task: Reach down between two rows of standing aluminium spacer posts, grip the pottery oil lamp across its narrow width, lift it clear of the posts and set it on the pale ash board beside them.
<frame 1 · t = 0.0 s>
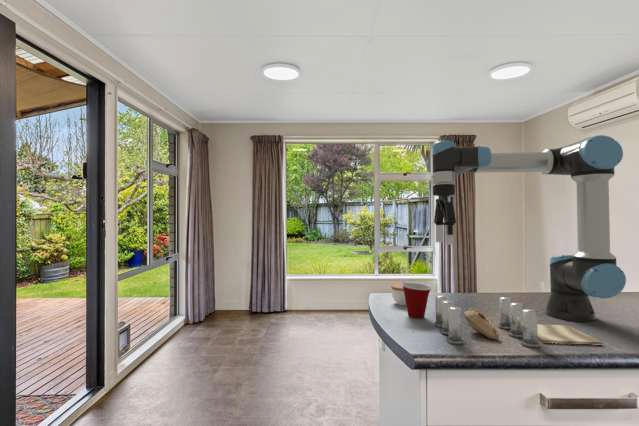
hand: (444, 243, 120), 28 cm above the counter, tool pointing down, fingers open, 13 cm apart
spacer posts: (482, 334, 106), on the counter
lidded jar: (404, 304, 146), on the counter
pottery oil lamp: (482, 335, 106), on the counter
plastic cup: (416, 317, 126), on the counter
ash board: (556, 335, 105), on the counter
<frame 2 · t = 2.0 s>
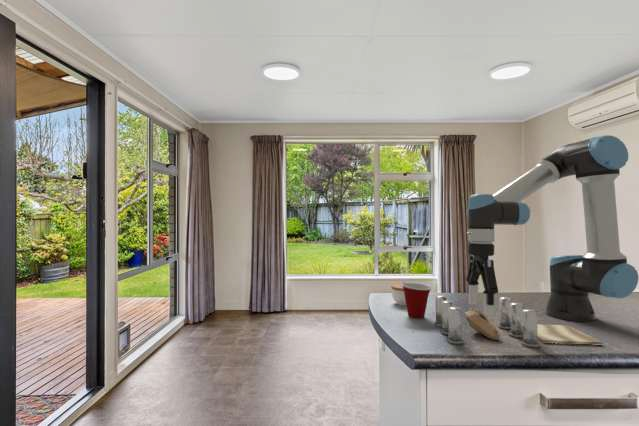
hand: (480, 309, 106), 8 cm above the counter, tool pointing down, fingers open, 13 cm apart
nothing on the counter moved.
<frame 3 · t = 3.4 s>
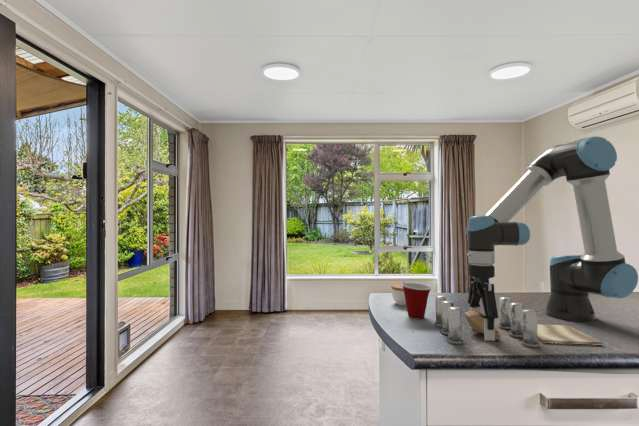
hand: (481, 333, 106), 0 cm above the counter, tool pointing down, fingers closed on pottery oil lamp, 11 cm apart
pottery oil lamp: (483, 335, 105), on the counter, touching gripper
everything else where it was.
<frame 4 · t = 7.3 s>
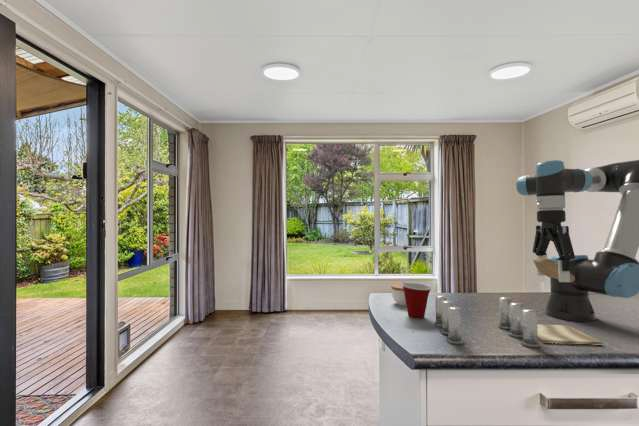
hand: (552, 278, 106), 18 cm above the counter, tool pointing down, fingers closed on pottery oil lamp, 11 cm apart
pottery oil lamp: (554, 280, 106), point 17 cm above the counter, touching gripper
everything else where it was.
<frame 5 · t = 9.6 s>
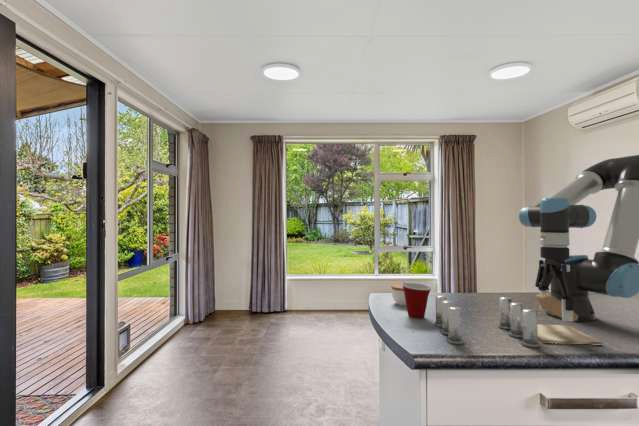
hand: (555, 315, 105), 6 cm above the counter, tool pointing down, fingers closed on pottery oil lamp, 11 cm apart
pottery oil lamp: (556, 317, 105), point 6 cm above the counter, touching gripper
everything else where it was.
when the fingers open (3 cm above the counter, at t = 11.4 s): pottery oil lamp drops 1 cm, resting on ash board.
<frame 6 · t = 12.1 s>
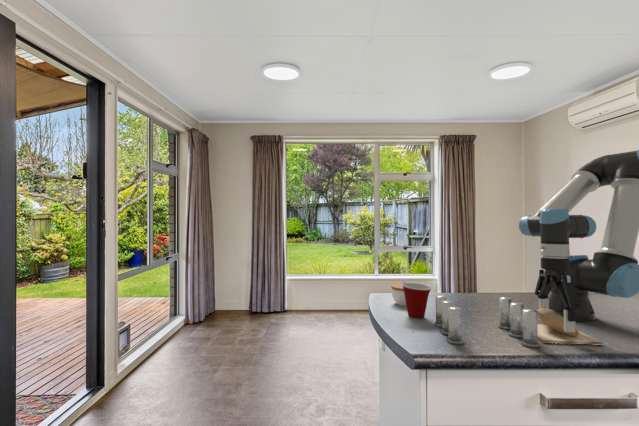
hand: (556, 324, 105), 3 cm above the counter, tool pointing down, fingers open, 13 cm apart
pottery oil lamp: (557, 333, 105), point 1 cm above the counter, touching ash board
everything else where it was.
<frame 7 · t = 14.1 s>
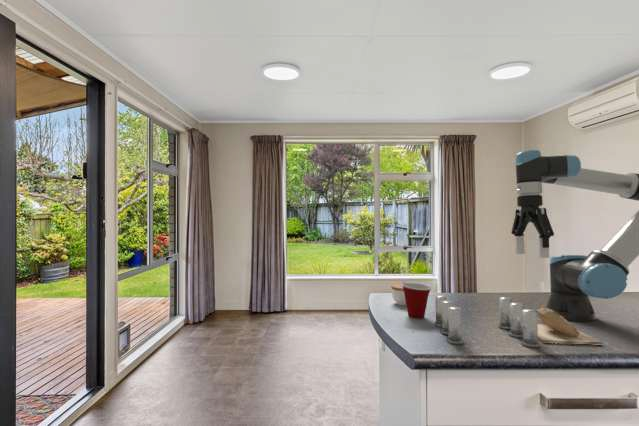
hand: (531, 255, 117), 24 cm above the counter, tool pointing down, fingers open, 13 cm apart
nothing on the counter moved.
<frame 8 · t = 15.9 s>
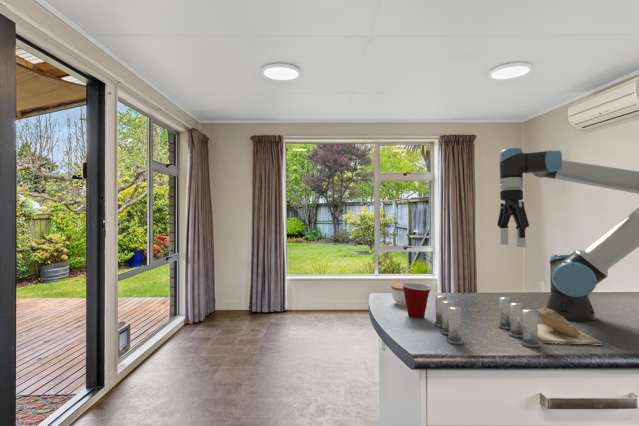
hand: (512, 245, 126), 27 cm above the counter, tool pointing down, fingers open, 13 cm apart
nothing on the counter moved.
at the end: pottery oil lamp inside the target area on the ash board (0.6 cm from its centre), point 0.8 cm above the ash board's base; pottery oil lamp tilted 0°; the gripper is holding nothing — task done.
